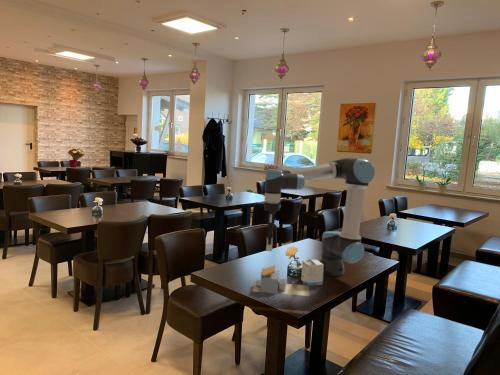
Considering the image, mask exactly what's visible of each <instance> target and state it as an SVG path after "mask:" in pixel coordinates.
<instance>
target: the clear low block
mask: <svg viewBox="0 0 500 375" xmlns="http://www.w3.org/2000/svg"><path fill="white" fill-rule="evenodd" d="M255 281H256V287H261V279H260V280H258V279H257V280H255ZM286 282H287V280H286V279H285V278H278V288H279V291H285V286H286V284H287V283H286Z"/></svg>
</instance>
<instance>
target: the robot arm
mask: <svg viewBox="0 0 500 375" xmlns="http://www.w3.org/2000/svg"><path fill="white" fill-rule="evenodd" d="M375 171H376V170H375V167H374V165H373V163H372V162H371V161H369V160H367V159H363V158H352V157H345V158H340V159H335V160H331V161H328V162H326V163H324V164H323V163H322V164H318V165H311V166H306V167H299V168H293V169H288V170H281V169H274V168H269V169H266V172H265V178H264V179H265V180H264V181H265V182H264V183H265V185H264V186H265V188H264V194H263V195H262V196H263V197H264V202H263V210H264V211H267V212H268V213H266V221H267V222H266V223H267V232H266V233H267V234H266V235H265V238H266V248H265V250H266V252H273V244H274V243H273V241H274V239H273V238H275V235H274V225H275V222H276V221H275V220H276V215H277V214H276V213H275V212H279V211H280V210H281V208H280V207H281V204H280V202H281V198H282V196H281V195H282V190H292V191H293V190H296V191H298V190H302V189H303V188H304V187H305V184H306V182H311V181H318V180H323V179H330V180H335V179H342V180H345V182H344V184H345V186H346V188H347V191H346V199H345V206H344V207H345V208H344V214H343V221H342V229H341V231H336V230H333V231H332V230H331V231H327V230H326V231H324V232H323V233H322V236H321V254H320V259H319V260H318V261H319V262H321V263H322V264H324V266H323V276H325V275H326V276H329V277H330V276H331V277H340V276H343V275H344V274H345V266H344V262H345V263H348V264H355V263H358V262H359V261H360V260H361V259H362V258H363V257H364V254H365V247H364V245H363V243H362V236H361V235H360V227H361V220H362V211H363V206H364V205H363V204H364V197H365V190H366V189H367V188H368V187H369V183H371V182H372V181H373V179H374V177H375V175H376V172H375ZM343 261H344V262H343Z"/></svg>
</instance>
